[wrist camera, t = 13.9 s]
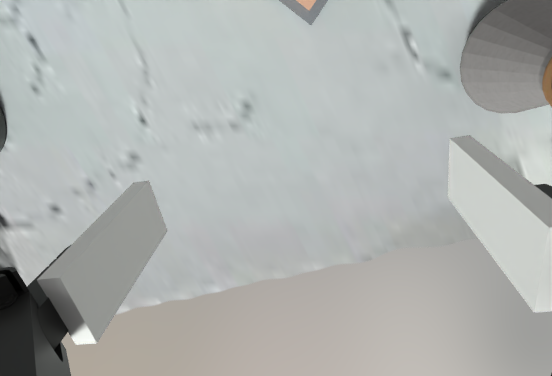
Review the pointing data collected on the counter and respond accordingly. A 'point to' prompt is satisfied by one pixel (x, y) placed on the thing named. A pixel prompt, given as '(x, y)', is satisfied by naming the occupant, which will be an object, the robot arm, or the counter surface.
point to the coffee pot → (510, 57)
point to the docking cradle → (305, 8)
